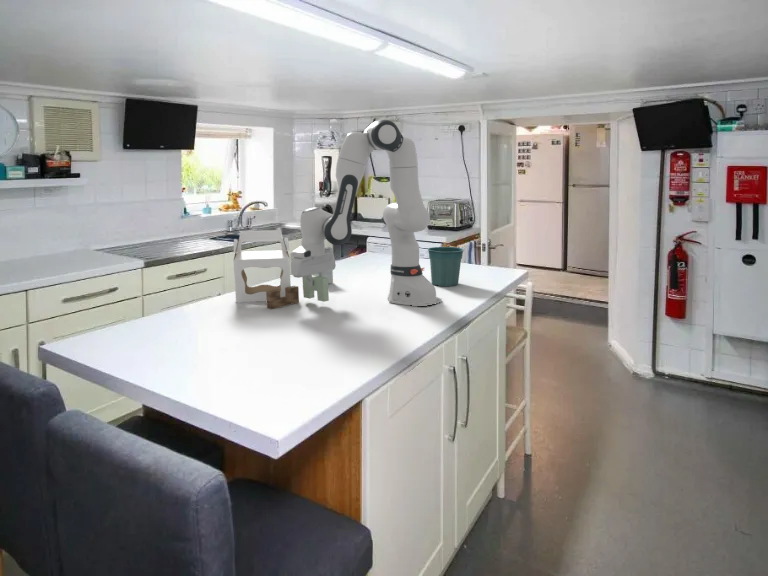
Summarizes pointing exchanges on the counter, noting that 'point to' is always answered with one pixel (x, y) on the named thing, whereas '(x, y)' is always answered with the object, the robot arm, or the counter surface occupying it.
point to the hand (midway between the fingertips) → (315, 284)
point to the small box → (327, 276)
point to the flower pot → (445, 265)
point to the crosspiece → (316, 288)
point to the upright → (277, 301)
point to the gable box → (260, 264)
